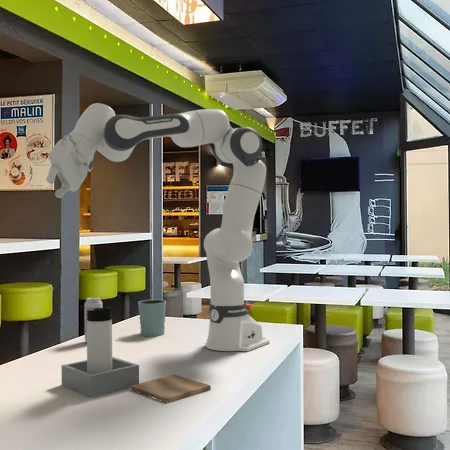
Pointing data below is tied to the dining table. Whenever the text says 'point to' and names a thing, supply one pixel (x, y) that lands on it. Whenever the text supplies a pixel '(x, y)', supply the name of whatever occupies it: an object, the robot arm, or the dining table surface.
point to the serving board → (170, 388)
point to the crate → (100, 377)
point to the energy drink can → (91, 305)
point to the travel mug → (99, 340)
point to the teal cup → (152, 317)
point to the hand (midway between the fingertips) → (53, 189)
